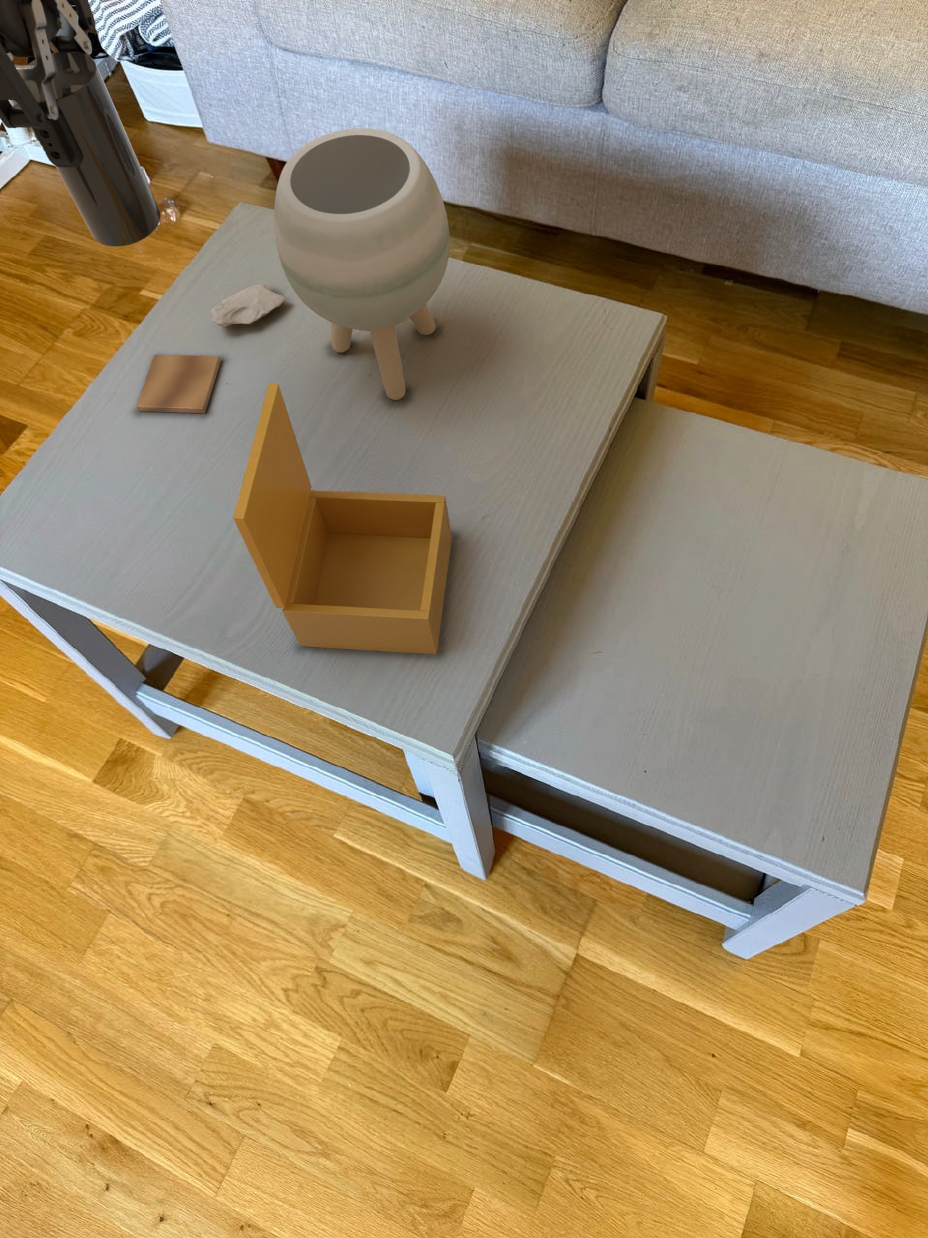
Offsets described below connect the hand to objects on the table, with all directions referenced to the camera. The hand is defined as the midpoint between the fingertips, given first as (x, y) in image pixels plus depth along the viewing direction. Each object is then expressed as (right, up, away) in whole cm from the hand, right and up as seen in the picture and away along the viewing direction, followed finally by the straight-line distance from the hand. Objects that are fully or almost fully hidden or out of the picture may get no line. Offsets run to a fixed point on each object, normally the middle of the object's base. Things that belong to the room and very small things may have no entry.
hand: (83, 134), depth 67 cm
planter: (+20, -7, +32) cm, 38 cm away
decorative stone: (+4, -1, +37) cm, 37 cm away
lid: (+13, -26, +6) cm, 30 cm away
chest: (+20, -33, +18) cm, 43 cm away
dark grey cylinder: (+1, -3, +7) cm, 8 cm away
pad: (-3, -10, +32) cm, 34 cm away
